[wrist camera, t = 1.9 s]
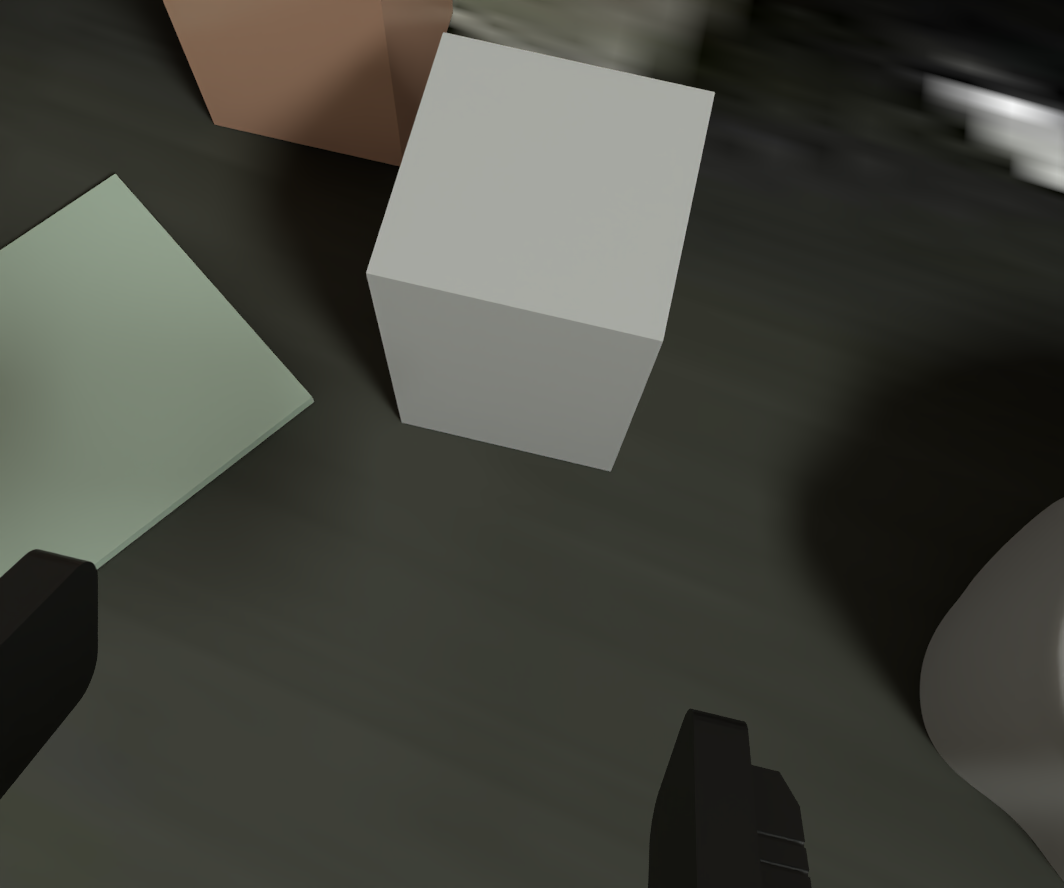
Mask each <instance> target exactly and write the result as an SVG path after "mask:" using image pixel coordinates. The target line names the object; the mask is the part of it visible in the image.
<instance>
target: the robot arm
mask: <svg viewBox="0 0 1064 888" xmlns="http://www.w3.org/2000/svg"><path fill="white" fill-rule="evenodd" d="M97 653H98V575H97V569H96V567H95V565H94V564H93V563H92V562H90V561H86V560H82V559H77V558H73V557H69V556H65V555H61V554H57V553H53V552H49V551H44V550H40V549H34V550H32V551H30V552H28V553H27V554H26V555H24V556H23V557H22V558H21V559H20V560H19V561H18V562H17V563H16V564H15V565H13V566H12V567H11V568H10V569H9V570H8V571H7V572H6V573H5V574H4V575H2V576H1V577H0V799H1V798H2V796H3V795H4V794H5V793H6V792H7V790H8V789H9V788H10V787H11V785H12V784H13V783H14V782H15V780H16V779H17V778H18V777H19V775H20V774H21V773H22V772H23V770H24V769H25V768H26V767H27V765H28V764H29V763H30V762H31V761H32V759H33V758H34V757H35V756H36V754H37V753H38V752H39V751H40V749H41V748H42V747H43V746H44V744H45V743H46V742H47V741H48V739H49V738H50V737H51V736H52V734H53V733H54V732H55V731H56V729H57V728H58V727H59V726H60V725H61V723H62V722H63V721H64V720H65V718H66V717H67V716H68V715H69V713H70V712H71V711H72V710H73V708H74V707H75V706H76V705H77V703H78V702H79V701H80V699H81V698H82V697H83V695H84V693H85V692H86V690H87V688H88V686H89V683H90V681H91V679H92V676H93V673H94V670H95V666H96V661H97ZM804 842H805V839H804V832H803V826H802V819H801V812H800V806H799V804H798V802H797V801H796V799H795V797H794V796H793V794H792V792H791V791H790V789H789V787H788V786H787V784H786V782H785V781H784V779H783V777H782V776H781V774H780V772H778V771H774V770H770V769H766V768H762V767H758V766H753V765H751V758H750V747H749V736H748V728H747V724H746V723H745V722H744V721H740V720H735V719H731V718H727V717H723V716H719V715H715V714H711V713H706V712H702V711H698V710H694V709H689V710H688V711H687V713H686V715H685V717H684V720H683V723H682V726H681V728H680V731H679V734H678V737H677V740H676V743H675V746H674V749H673V752H672V755H671V758H670V761H669V763H668V766H667V769H666V772H665V775H664V778H663V781H662V784H661V787H660V790H659V793H658V796H657V800H656V804H655V808H654V813H653V819H652V825H651V833H650V847H649V879H648V888H811V881H810V877H808V872H809V867H808V860H807V853H806V848H804Z"/></svg>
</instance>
